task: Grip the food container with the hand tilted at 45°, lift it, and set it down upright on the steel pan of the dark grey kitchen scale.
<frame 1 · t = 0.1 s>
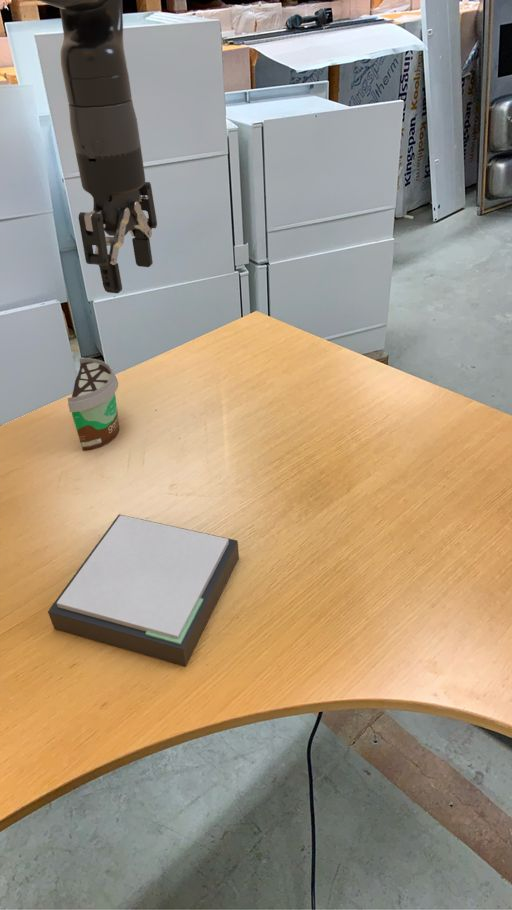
hand: (129, 278, 86), 25 cm above the table, tool pointing down, fingers open, 8 cm apart
food container: (107, 432, 102), on the table
scale: (150, 591, 76), on the table
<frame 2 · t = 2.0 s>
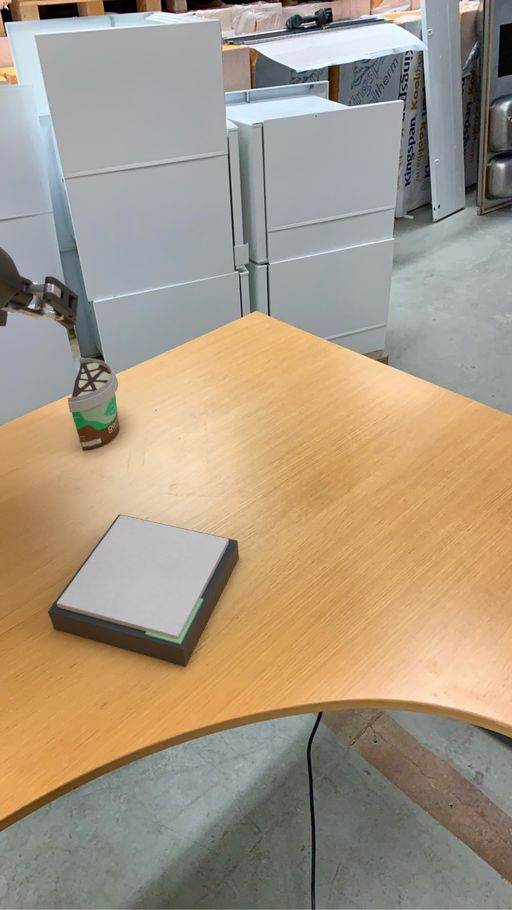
hand: (37, 319, 78), 25 cm above the table, tool tilted 45°, fingers open, 8 cm apart
nothing on the table moved.
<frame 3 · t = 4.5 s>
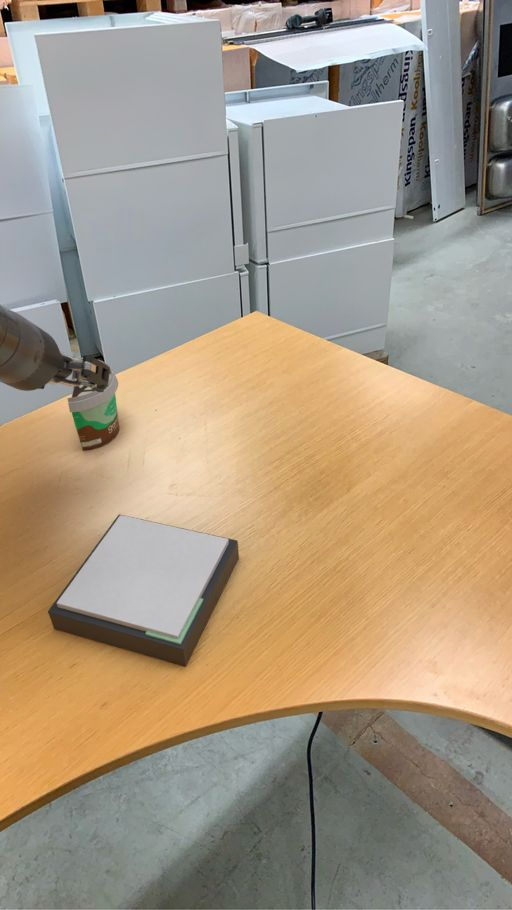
hand: (72, 383, 88), 13 cm above the table, tool tilted 45°, fingers open, 8 cm apart
nothing on the table moved.
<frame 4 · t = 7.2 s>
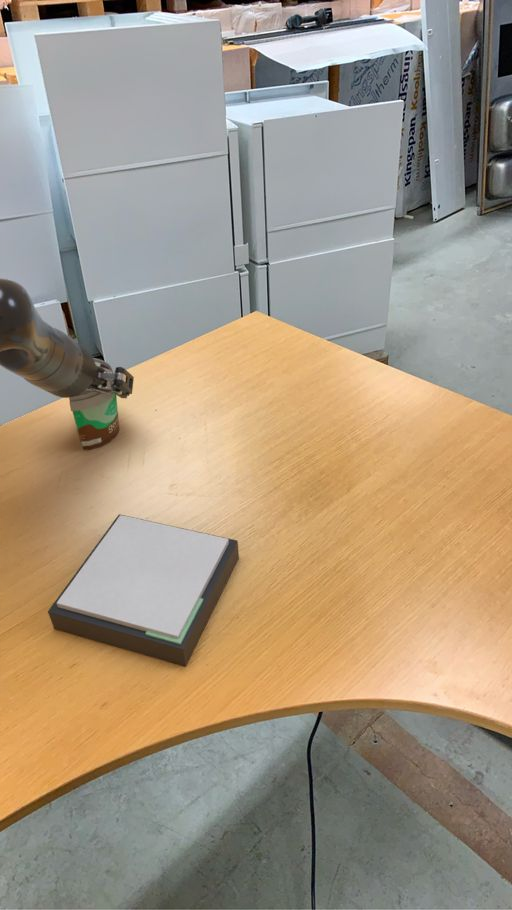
hand: (102, 390, 99), 6 cm above the table, tool tilted 45°, fingers closed on food container, 6 cm apart
food container: (107, 432, 102), on the table, touching gripper
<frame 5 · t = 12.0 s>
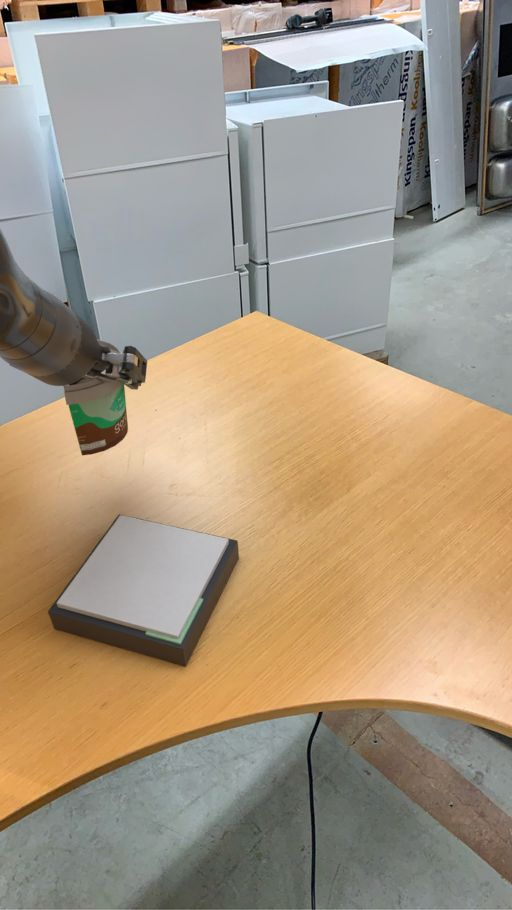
hand: (106, 379, 78), 18 cm above the table, tool tilted 45°, fingers closed on food container, 6 cm apart
food container: (112, 432, 81), point 12 cm above the table, touching gripper
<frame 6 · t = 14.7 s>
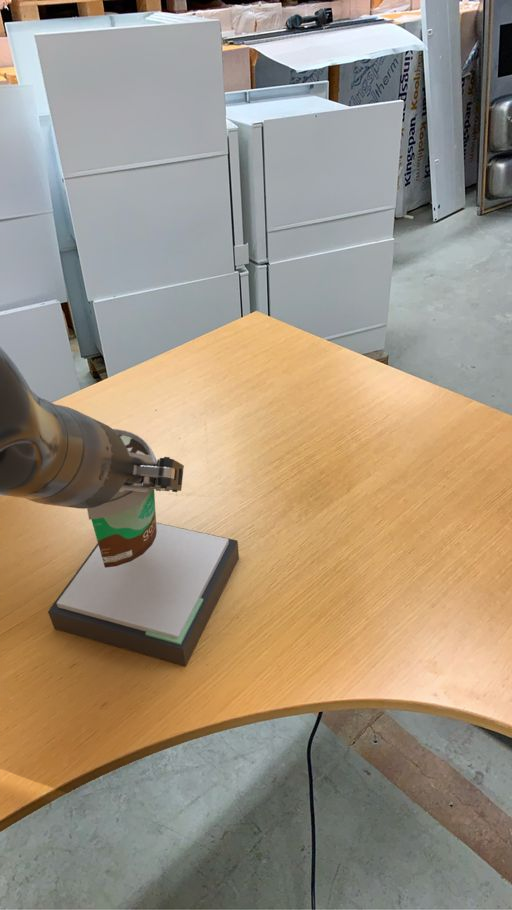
hand: (133, 478, 67), 16 cm above the table, tool tilted 45°, fingers closed on food container, 6 cm apart
food container: (139, 535, 70), point 9 cm above the table, touching gripper
when the fingers open (10 cm above the table, at t = 17.0 s): food container stays where it is, resting on scale.
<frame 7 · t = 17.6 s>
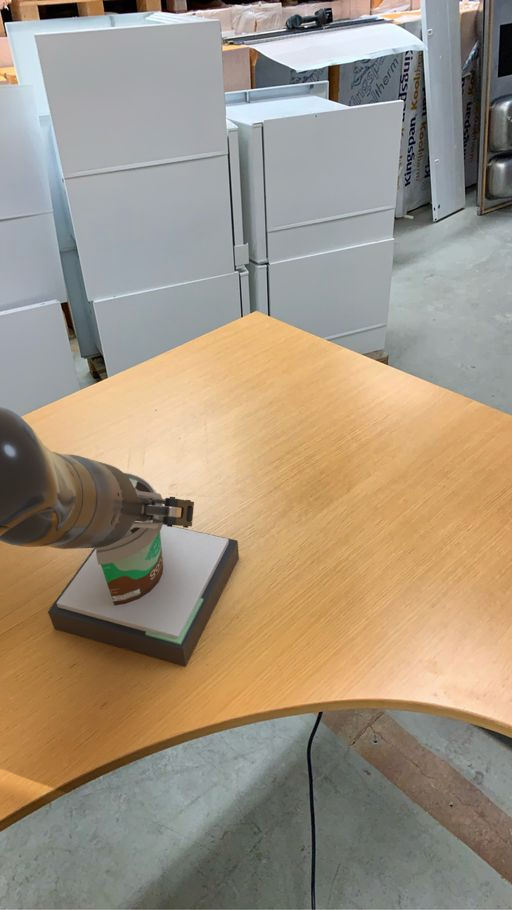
hand: (139, 510, 70), 12 cm above the table, tool tilted 45°, fingers open, 8 cm apart
food container: (146, 571, 74), point 4 cm above the table, touching scale
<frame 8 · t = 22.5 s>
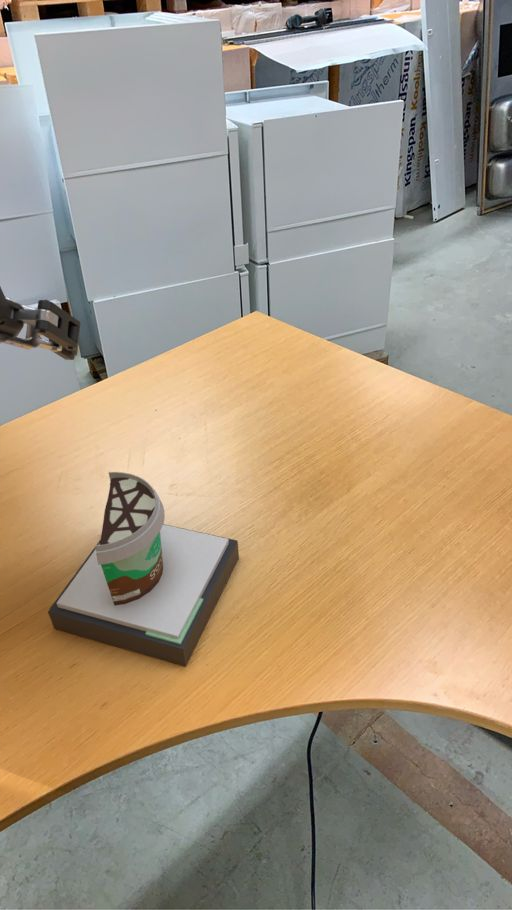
hand: (30, 348, 64), 29 cm above the table, tool tilted 45°, fingers open, 8 cm apart
nothing on the table moved.
at the end: food container inside the target area on the scale (0.2 cm from its centre), point 3.6 cm above the scale's base; food container tilted 0°; the gripper is holding nothing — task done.
